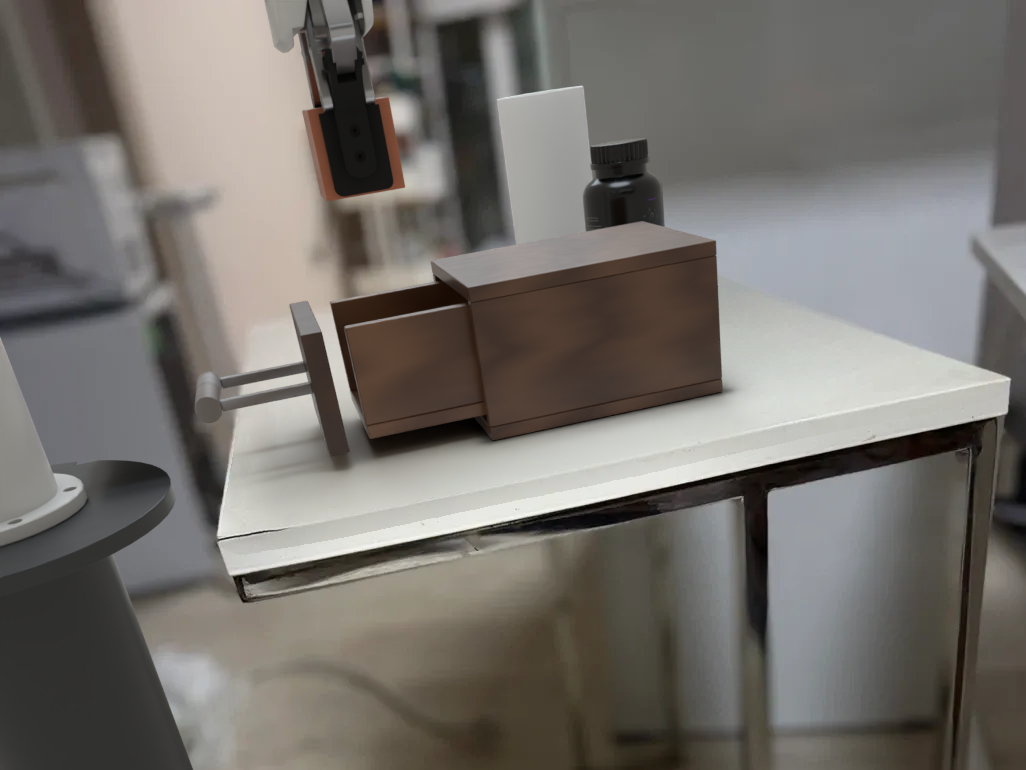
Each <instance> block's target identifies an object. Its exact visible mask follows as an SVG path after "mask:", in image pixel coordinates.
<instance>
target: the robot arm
mask: <svg viewBox="0 0 1026 770" xmlns="http://www.w3.org/2000/svg"><path fill="white" fill-rule="evenodd" d="M263 1H264V6H265V10H266V14H267V19H268V24H269V30H270V34H271V39H272V43H273V47H274V48H275V49H276V50H277V51H279V52H281V53H282V54H286V53H289V52H290V51H291V50H292V49H294V47H295V39H294V37H295V36H296V35H298V40H299V45H300V54H301V57H302V60H303V64H304V65H303V66H304V70H305V75H306V80H307V84H308V89H309V95H310V100H311V103H312V108H319V107H322V108H323V111H324V113H322V114H318V115H319V120H320V124H321V129H322V133H323V138H324V143H325V147H326V152H327V157H328V161H329V166H330V170H331V175H332V180H333V184H334V189H335V192H336V193H337V194H338V195H339V196H342V197H345V196H351V195H356V194H362V193H367V192H373V191H379V190H384V189H389V188H390V187H392V185H393V176H392V170H391V165H390V160H389V154H388V149H387V144H386V139H385V133H384V128H383V123H382V117H381V112H380V107H379V104H376V102H375V98H376V95H375V88H374V85H373V79H372V75H371V70H370V66H369V61H368V57H367V52H366V47H365V41H364V37H365V36H366V35H367V34H368V33H369V32H370V30H371V29H372V27H373V26H374V23H375V22H374V21H375V19H374V18H375V17H374V16H375V15H374V9H373V8H374V7H373V0H263ZM375 104H376V105H375ZM50 465H51V464H50V462H49V459H48V456H47V454H46V451H45V448H44V447H43V444H42V442H41V439H40V435H39V433H38V431H37V427H36V426H35V423H34V420H33V418H32V415H31V413H30V410H29V407H28V405H27V402H26V399H25V397H24V394H23V392H22V389H21V387H20V383H19V381H18V379H17V376H16V374H15V371H14V368H13V366H12V364H11V360H10V358H9V356H8V353H7V351H6V348H5V345H4V343H3V340H2V338H1V336H0V547H3V546H6V545H9V544H12V543H15V542H18V541H21V540H24V539H27V538H29V537H32V536H34V535H37V534H39V533H42V532H44V531H46V530H48V529H50V528H52V527H55V526H56V525H58V524H60V523H62V522H64V521H65V520H67V519H69V518H70V517H71V516H73V515H74V514H76V513H77V512H78V511H79V510H80V509H81V508H82V507H83V506H84V505H85V503H86V501H87V493H86V490H85V487H84V485H83V483H82V481H81V480H80V479H78V478H76V477H74V476H71V475H66V474H56V473H53V472H52V469H51V467H50Z"/></svg>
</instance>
